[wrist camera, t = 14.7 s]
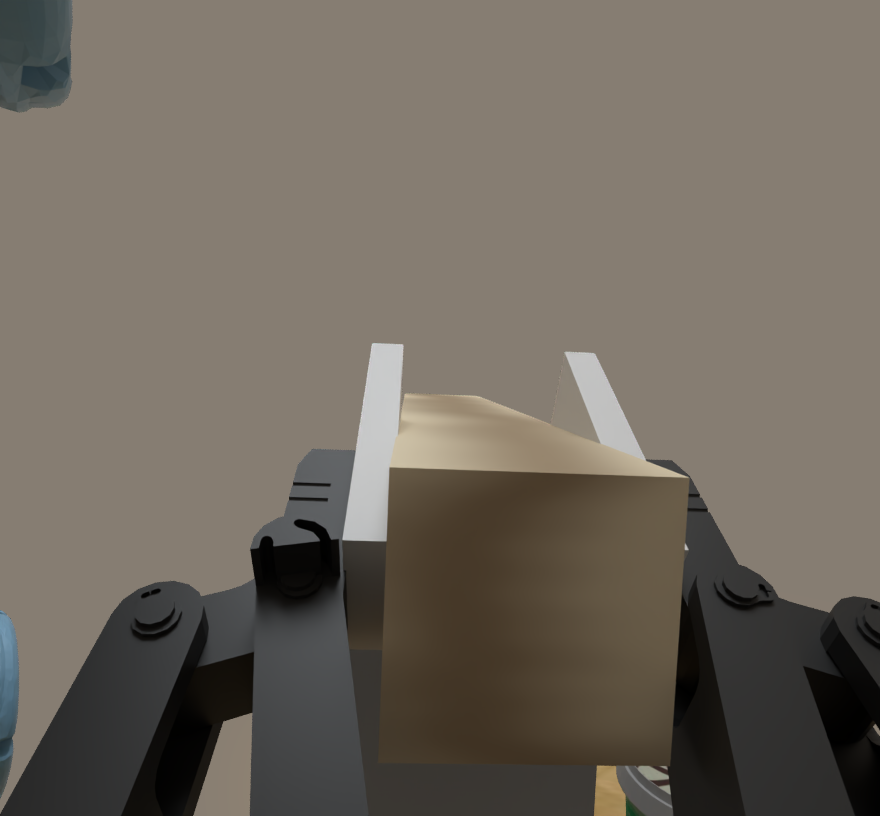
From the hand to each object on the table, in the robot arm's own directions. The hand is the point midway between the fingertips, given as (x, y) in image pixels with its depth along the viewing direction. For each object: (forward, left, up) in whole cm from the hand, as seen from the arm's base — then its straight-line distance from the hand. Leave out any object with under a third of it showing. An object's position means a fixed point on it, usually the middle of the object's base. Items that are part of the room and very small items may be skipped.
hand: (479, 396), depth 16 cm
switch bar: (0, +5, -5) cm, 7 cm away
